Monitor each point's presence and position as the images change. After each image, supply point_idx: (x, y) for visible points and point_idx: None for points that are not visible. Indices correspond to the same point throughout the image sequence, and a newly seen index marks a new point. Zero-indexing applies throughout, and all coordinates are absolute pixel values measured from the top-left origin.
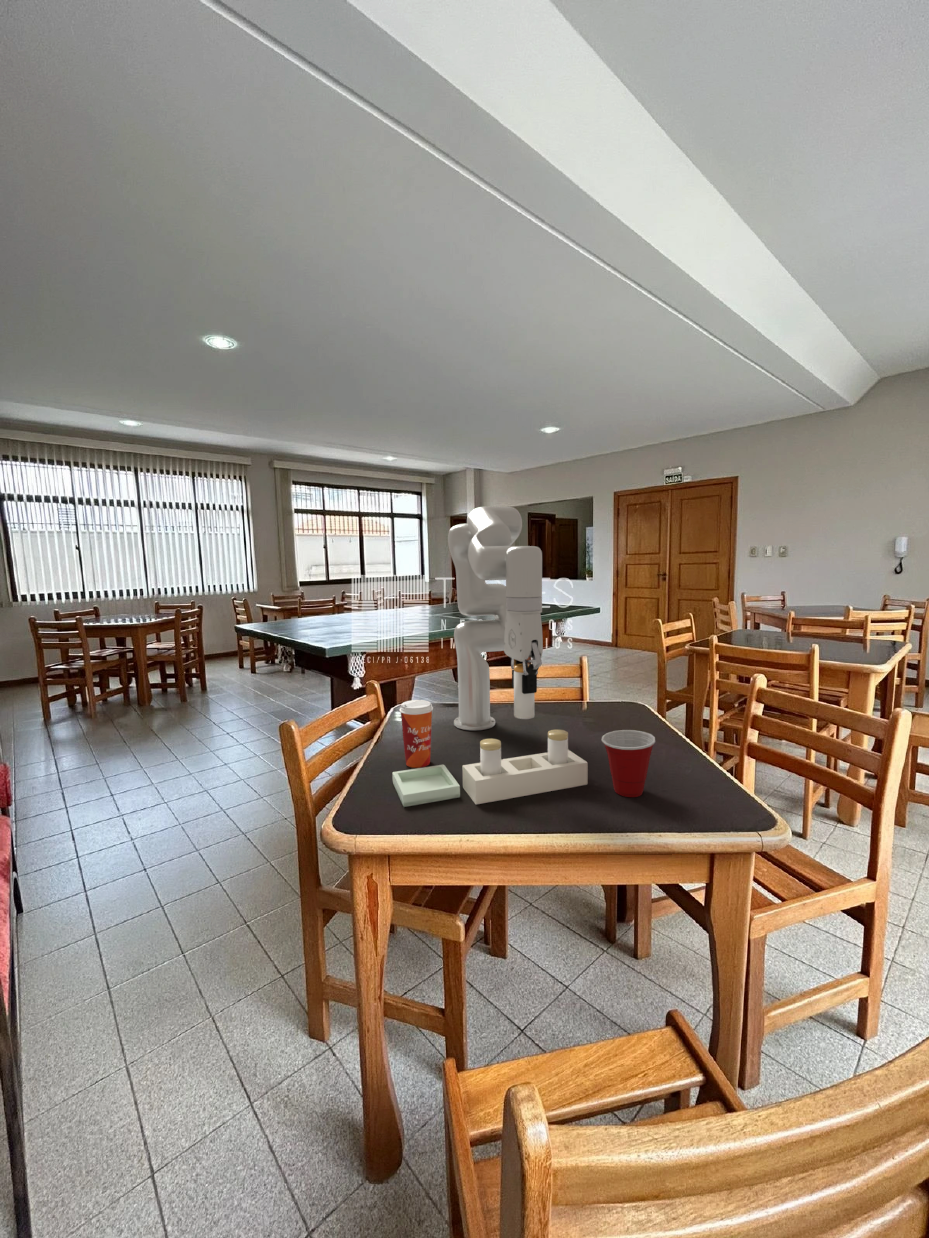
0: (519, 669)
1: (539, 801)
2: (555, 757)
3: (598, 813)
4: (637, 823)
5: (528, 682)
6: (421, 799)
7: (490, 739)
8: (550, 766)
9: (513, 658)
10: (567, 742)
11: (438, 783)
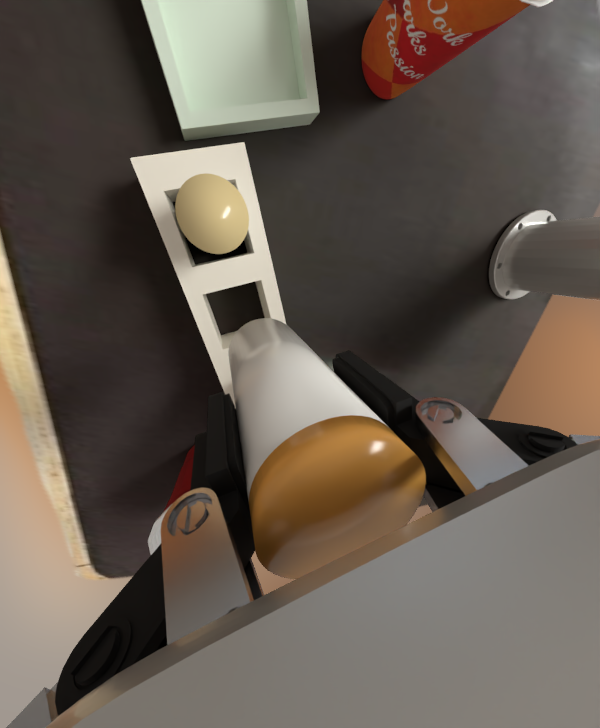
0: (272, 480)
1: (168, 320)
2: None
3: (124, 407)
4: (93, 453)
5: (194, 467)
6: None
7: (239, 221)
8: (224, 365)
9: (387, 536)
10: None
11: (245, 83)
